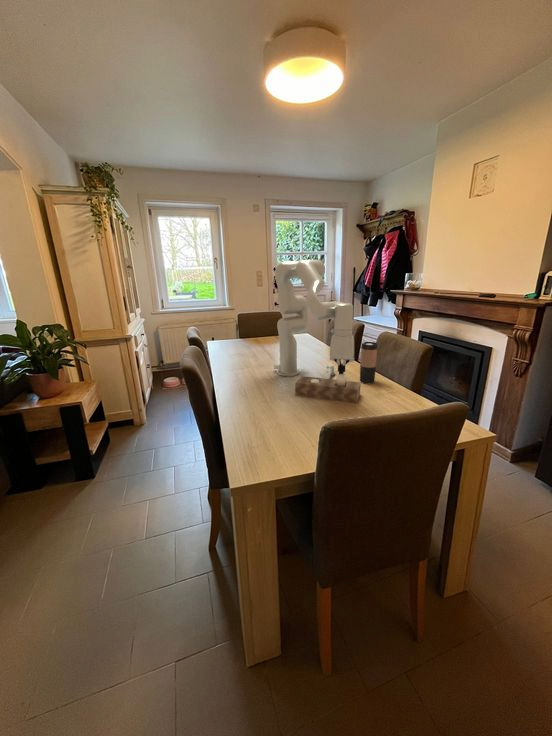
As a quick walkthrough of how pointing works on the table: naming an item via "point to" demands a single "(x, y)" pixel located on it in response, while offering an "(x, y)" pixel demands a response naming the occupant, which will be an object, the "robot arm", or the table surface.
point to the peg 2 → (341, 379)
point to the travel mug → (368, 362)
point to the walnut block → (327, 389)
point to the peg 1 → (314, 381)
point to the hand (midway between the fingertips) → (341, 373)
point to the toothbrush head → (329, 371)
